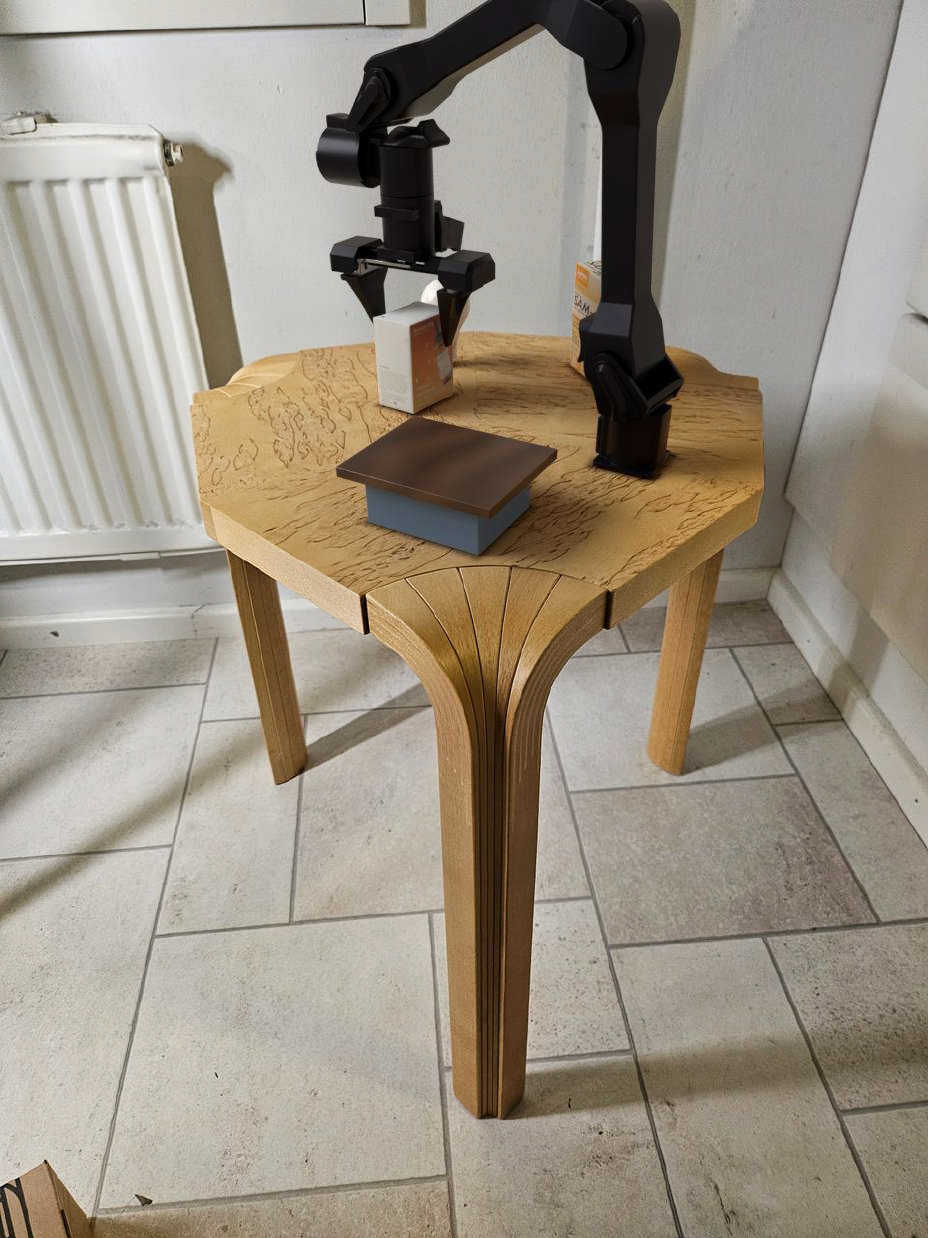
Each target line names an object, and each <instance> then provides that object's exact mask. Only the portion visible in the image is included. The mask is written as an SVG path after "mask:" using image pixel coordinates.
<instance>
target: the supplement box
mask: <svg viewBox="0 0 928 1238" xmlns="http://www.w3.org/2000/svg"><path fill="white" fill-rule="evenodd" d="M574 275H575V276H574V277H575V279H574V289H573V290H574V291H573V304H572V305H573V306H572V320H571V321H572V322H571V334H570V336H571V337H570V349H569V350H570V352H569V366H571V367H572V368H573V369H574V370H576V371H577V372H578V373H579V374H580V375H582V376H583V378H585V375H584V369H583V361H582V362H580V363H578V362H577V360H578V357H579V354H580V347H581V345H580V337H579V321H580V320H581V319H583V318H585V317H587V316H588V315H590V314H592V313H594V312H596V310H597V308H598V305H599V302H600V297H601V259H599V260H598V259H597V260H586V261H580V262H576V263H575V274H574Z"/></svg>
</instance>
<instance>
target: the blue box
mask: <svg viewBox="0 0 928 1238" xmlns="http://www.w3.org/2000/svg"><path fill="white" fill-rule="evenodd" d="M364 487H365V496H366V497H365V498H366V509H367V520H368V523H369V524H372V525H375V526H379V527H383V528H386V529H388V530H391V531H396V532H399V533H403V534H407V535H409V536H412V537H415V538H419V539H421V540H425V541H428V542H432V543H435V544H439V545H441V546H445V547H448V548H452V549H455V550H458V551H461V552H465V553H468V554H471V555H474V556H480V555H481V554H482V553H483V552H484V551H485V550H486V549H487V548H489V546H490V545H491V544H493V543H494V541H496V539H498V537H499V536H501V535H502V534H503V533H504V532H505V531H506V530H507V529H508V528H509V527H511V525H512V524H513V523H514V522H516V520H517V519H519V518H520V516H522V514H524V512H526V511H527V510H528V509H529V507H530V493H531V492H530V491H531V490H530V489H531V483H530V484H529V485H527V486H526V487H525V488H524V489H523V490H522V491H521V492H520V493H519V494H518V495H517V496H515V497H514V498H513V499H512V500H511V501H510V502H509V503H508V504H507V505H506V506H505V507H503V508H502V509H501V510H500V511H499V512H498V513H497V514H496V515H495V516H494V517H493V518H491V519H490V520H489V519H485V518H482V517H478V516H475V515H471V514H468V513H464V512H460V511H457V510H453V509H450V508H446V507H443V506H439V505H436V504H432V503H428V502H425V501H421V500H418V499H414V498H411V497H407V496H404V495H400V494H397V493H393V492H389V491H386V490H382V489H379V488H375V487H372V486H368V485H365V484H364Z"/></svg>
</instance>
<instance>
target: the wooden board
mask: <svg viewBox="0 0 928 1238" xmlns="http://www.w3.org/2000/svg"><path fill="white" fill-rule="evenodd" d="M558 451H559V450H558V449H557V448H555V447H550V446H546V445H541V444H536V443H533V442H528V441H524V440H520V439H515V438H512V437H507V436H502V435H499V434H495V433H490V432H486V431H482V430H478V429H473V428H470V427H469V428H468V427H464V426H462V425H461V426H460V425H456V424H452V423H447V422H444V421H438V420H434V419H431V418H426V417H421V416H418V415H412V416H411V417H410V418H408V419H406V420H405V421H403V422H402V423H400V424H399V425H397V426H396V427H394V428H393V429H391V430H389V431H387V433H385V434H383V435H382V436H381V437H379V438H378V439H376V440H374V441H373V442H371V443H370V444H369V445H367V446H365V447H364V448H362V449H360V450H359V451H358V452H355V454H353V455H352V456H350V457H349V458H347V459H346V460H344V461H343V462H341V463H340V464H338V465H337V466H335V472H336V473H335V474H336V477H337V478H340V479H344V480H347V481H350V482H354V483H358V484H362V485H364V486H365V485H368V486H372V487H375V488H379V489H382V490H386V491H389V492H393V493H397V494H400V495H404V496H407V497H411V498H414V499H418V500H421V501H425V502H428V503H432V504H436V505H439V506H443V507H446V508H450V509H453V510H457V511H460V512H464V513H468V514H471V515H475V516H478V517H482V518H485V519H489V520H490V519H491V518H493V517H494V516H495V515H496V514H497V513H498V512H499V511H500V510H501V509H502V508H503V507H505V506H506V505H507V504H508V503H509V502H510V501H511V500H512V499H513V498H514V497H515V496H517V495H518V494H519V493H520V492H521V491H522V490H523V489H524V488H525V487H526V486H527V485H529V484H530V485H531V483H532V482H533V481H534V480H535V479H537V478H538V477H539V476H540V475H541V474H542V473H543V472H544V471H545V470H546V469H547V468H548V467H550V466H551V465H552V464H553V463H554V462H555V461H556V460H557V459H558Z"/></svg>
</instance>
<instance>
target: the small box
mask: <svg viewBox="0 0 928 1238" xmlns="http://www.w3.org/2000/svg"><path fill="white" fill-rule="evenodd" d="M373 324H374V325H373ZM372 325H373V335H374V336H373V337H374V349H375V363H376V378H377V392H378V403H379V405H381V406H384V407H388V408H391V409H395V410H399V411H401V412H405V413H409V414H416V413H418V412H420V411H421V410H424V409H426V408H428V407H429V406H431V405H434V404H436V403H438V402H439V401H442V400H444V399H447V398H449V397H451V396H453V395H454V362H453V349H452V345H450V346H449V347H445V346H444V342H443V338H442V333H441V325H440V317H439V309H438V306H437V305H433V304H428V303H424V302H421V301H419V300H416V301H413V302H411V303H410V304H407V305H405V306H402V307H399V308H396V309H395V310H392V311H389V312H386V314H384V315H381V316H377V317H374V318H373V323H372Z"/></svg>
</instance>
